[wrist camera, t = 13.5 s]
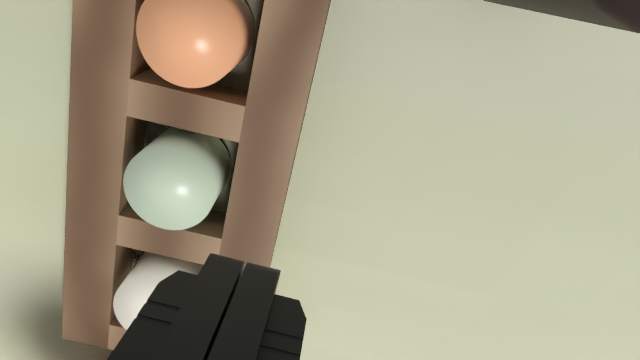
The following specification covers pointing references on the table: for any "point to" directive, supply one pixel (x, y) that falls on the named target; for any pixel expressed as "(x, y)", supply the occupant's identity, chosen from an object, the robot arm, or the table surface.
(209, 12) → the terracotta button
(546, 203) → the table surface
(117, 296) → the cream button
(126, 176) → the sage button
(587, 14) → the bottle
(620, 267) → the table surface
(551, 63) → the table surface
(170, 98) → the button board
